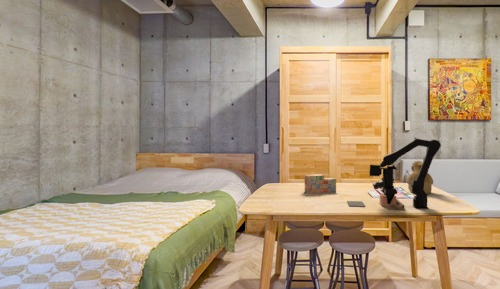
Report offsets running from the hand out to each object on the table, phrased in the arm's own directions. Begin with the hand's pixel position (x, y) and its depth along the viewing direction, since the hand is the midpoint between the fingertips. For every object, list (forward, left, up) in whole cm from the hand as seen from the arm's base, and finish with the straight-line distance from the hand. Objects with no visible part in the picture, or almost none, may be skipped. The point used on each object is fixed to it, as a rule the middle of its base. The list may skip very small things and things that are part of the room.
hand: (387, 203), depth 201 cm
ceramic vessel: (-30, -42, -1) cm, 52 cm away
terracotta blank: (0, 0, -1) cm, 1 cm away
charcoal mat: (+18, 0, -1) cm, 18 cm away
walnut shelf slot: (-2, 0, -1) cm, 2 cm away
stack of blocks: (+38, -37, -2) cm, 53 cm away
